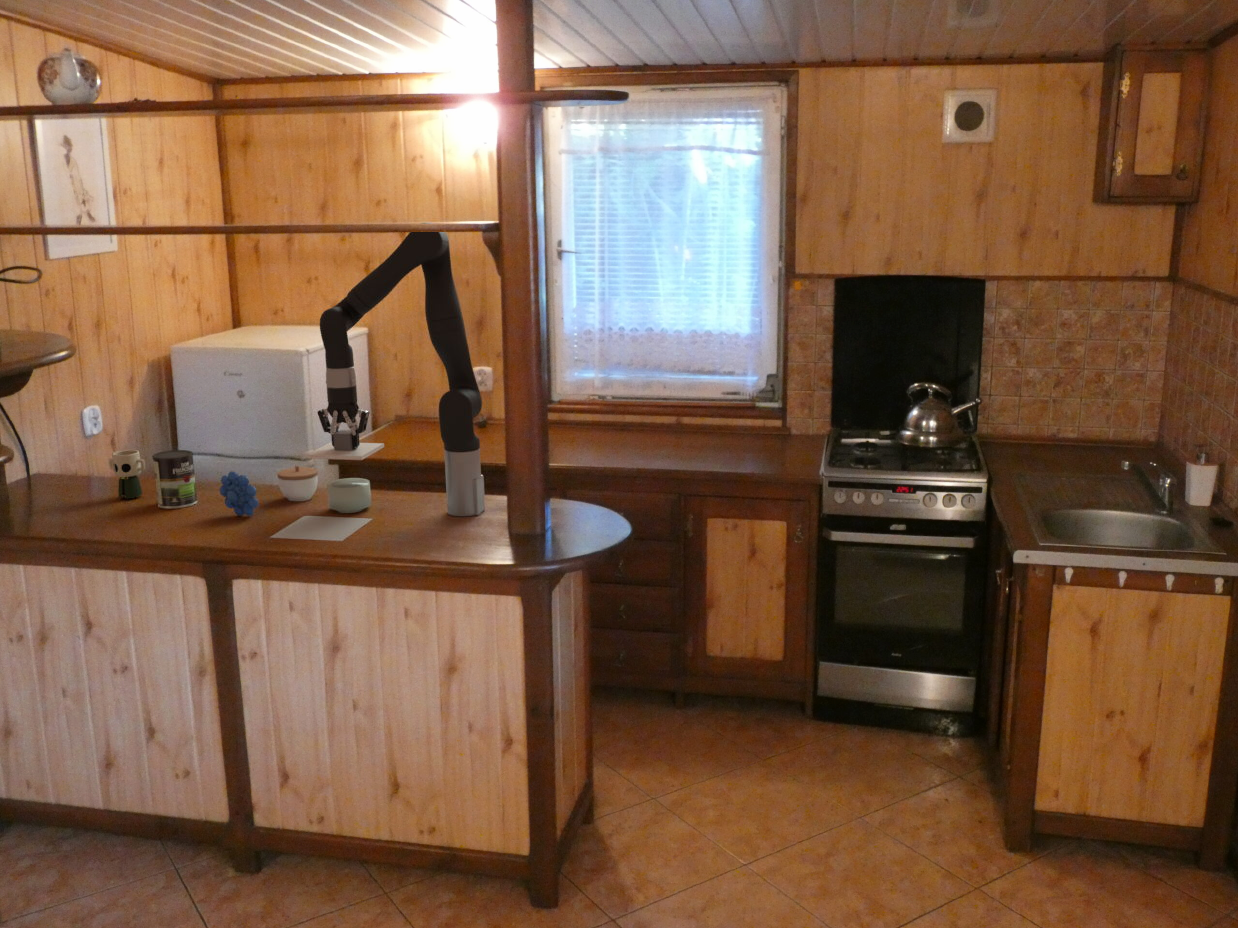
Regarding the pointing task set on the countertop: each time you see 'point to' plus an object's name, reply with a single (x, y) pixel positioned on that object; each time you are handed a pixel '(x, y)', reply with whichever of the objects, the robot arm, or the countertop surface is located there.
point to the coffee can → (175, 479)
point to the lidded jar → (298, 483)
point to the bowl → (349, 495)
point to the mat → (322, 528)
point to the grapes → (238, 493)
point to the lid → (345, 448)
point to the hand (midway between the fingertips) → (346, 448)
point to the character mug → (127, 472)
